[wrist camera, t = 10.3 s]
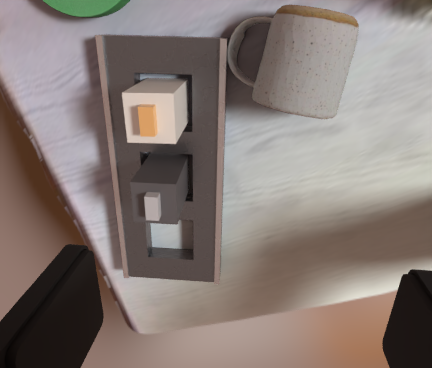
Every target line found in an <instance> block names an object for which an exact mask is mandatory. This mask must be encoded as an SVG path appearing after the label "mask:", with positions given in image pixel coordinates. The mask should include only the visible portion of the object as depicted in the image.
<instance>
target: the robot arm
mask: <svg viewBox="0 0 432 368" xmlns="http://www.w3.org/2000/svg"><path fill="white" fill-rule="evenodd" d="M102 323H103V309H102V303H101V296H100V290H99V284H98V278H97V272H96V265H95V259H94V254H93V252H92V251H89V249H88V247H87V246H85V245H72V244H69V245H66V246H65V247H64V248H63V249H62V250H61V252H60V253H59V254H58V255H57V256H56V257H55V259H54V260H53V261H52V262H51V263H50V264H49V266H48V267H47V268H46V269H45V271H43V273H42V274H41V275H40V276H39V277H38V278H37V280H36V281H35V282H34V283H33V284H32V285H31V287H30V288H29V289H28V290H27V291H26V292H25V293H24V295H23V296H22V297H21V298H20V299H19V300H18V302H17V303H16V304H15V305H14V306H13V307H12V308H11V310H10V311H9V312H8V313H7V314H6V315H5V317H4V318H3V319H2V320H1V321H0V368H80V367H81V366H82V364H83V362H84V359H85V358H86V356H87V353H88V352H89V350H90V348H91V346H92V344H93V342H94V340H95V338H96V336H97V334H98V332H99V330H100V328H101V326H102ZM383 351H384V354H385V356H386V359H387V361H388V364H389V367H390V368H432V271H427V270H410V271H409V273H408V274H404V275H403V276H402V278H401V282H400V285H399V288H398V291H397V295H396V298H395V301H394V305H393V308H392V311H391V315H390V318H389V321H388V324H387V328H386V331H385V334H384V338H383Z"/></svg>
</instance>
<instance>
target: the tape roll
mask: <svg viewBox="0 0 432 368" xmlns="http://www.w3.org/2000/svg"><path fill="white" fill-rule="evenodd" d="M43 1H44V2H45V3H46V4H48V5H49V6H51V7H52V8H54V9H56V10H58V11H60V12H62V13H65V14H68V15H71V16H77V17H102V16H106V15H109V14H112V13H114V12H116V11H118V10H120V9H121V8H122V7H124V6H125V5H126V4H127V3H128V2H129V1H130V0H43Z"/></svg>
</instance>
